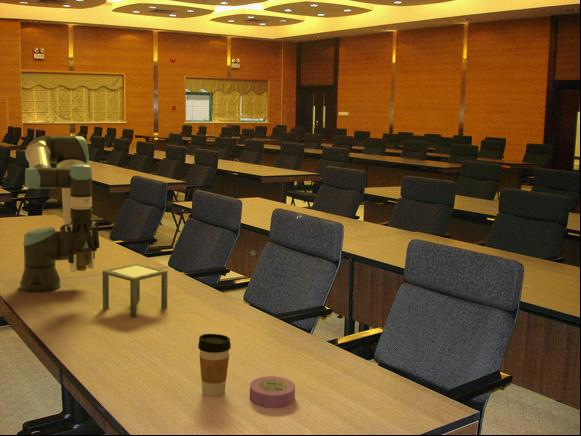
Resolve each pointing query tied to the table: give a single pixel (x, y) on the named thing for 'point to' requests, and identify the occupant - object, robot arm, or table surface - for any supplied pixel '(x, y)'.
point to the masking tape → (272, 392)
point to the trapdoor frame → (134, 287)
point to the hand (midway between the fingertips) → (81, 269)
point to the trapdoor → (134, 271)
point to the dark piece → (82, 258)
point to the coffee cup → (214, 363)
